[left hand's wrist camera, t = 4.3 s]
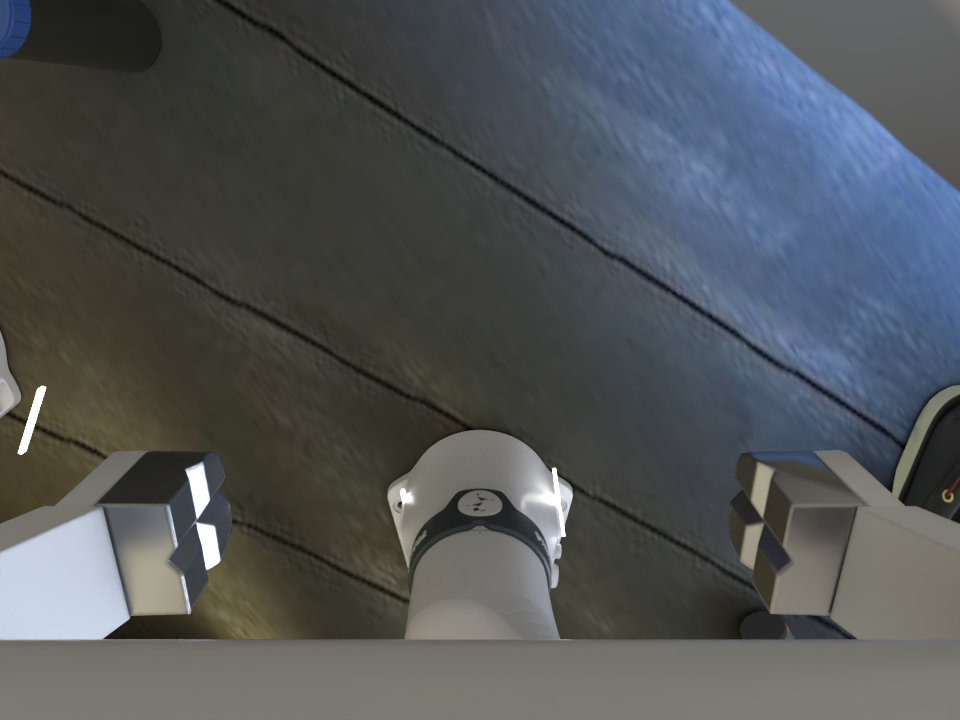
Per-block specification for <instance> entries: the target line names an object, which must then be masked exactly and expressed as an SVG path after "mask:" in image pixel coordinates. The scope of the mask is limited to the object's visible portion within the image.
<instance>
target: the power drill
mask: <svg viewBox="0 0 960 720" xmlns="http://www.w3.org/2000/svg"><path fill="white" fill-rule="evenodd" d="M740 634H741V637H742V640H796V639H795V638H794V636H793V634H792V633H791V631H790V629H789V628H788V626H787V624H786V623H785V621H784V620H783V619H782V618H781V617H780V616H779V615H777V614H770V613H769V611H760V612H755V613H753V614H750V615H749V616H748V617H746V618H745V619H744V620H743V622H742V623H741V626H740Z"/></svg>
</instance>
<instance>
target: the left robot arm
mask: <svg viewBox="0 0 960 720" xmlns="http://www.w3.org/2000/svg"><path fill="white" fill-rule="evenodd" d="M225 478H226V477H225V472H224V467H223V462H222V458H221V457H220V456H219V455H218V454H217V453H216V452H193V451H150V450H134V451H116V452H113V453H112V454H111V455H110V456H109V457H108V458H107V459H106V460H105V461H103V462H102V463H101V464H100V465H99V466H98V467H97V468H96V469H95V470H94V471H92V472H91V473H90V474H89V475H88V476H87V477H86V478H85V479H84V480H83V481H82V482H80V483H79V484H78V485H77V486H76V487H75V488H74V489H73V490H72V491H71V492H69V493H68V494H67V495H66V496H65V497H64V498H63V499H62V500H61V501H60V502H59V503H57V504H56V505H55V506H43V507H41V508H38V509H36V510H33V511H31V512H28V513H26V514H23V515H21V516H18V517H16V518H13V519H11V520H8V521H6V522H3V523H1V524H0V720H960V524H959V523H956V522H954V521H952V520H949V519H947V518H944V517H942V516H939V515H937V514H934V513H932V512H929V511H927V510H924V509H922V508H919V507H917V506H905V505H904V504H903V503H902V502H900V501H899V500H898V499H897V498H896V497H895V496H894V495H893V494H892V493H891V492H890V491H888V490H887V489H886V488H885V487H884V486H883V485H882V484H881V483H880V482H879V481H878V480H876V479H875V478H874V477H873V476H872V475H871V474H870V473H869V472H868V471H867V470H866V469H864V468H863V467H862V466H861V465H860V464H859V463H858V462H857V461H856V460H855V459H853V458H852V457H851V456H850V455H849V454H848V453H847V452H844V451H840V450H825V451H776V452H747V453H741V455H740V457H739V460H738V462H737V465H736V471H735V476H734V478H735V479H736V481H737V482H738V484H739V485H740V487H741V488H742V490H741V491H740V492H739V493H738V494H737V496H736V497H735V498H734V499H733V500H732V501H731V502H730V508H729V516H728V526H729V537H730V541H731V544H732V547H733V550H734V552H735V554H736V556H737V558H738V560H739V561H740V562H741V563H742V564H744V565H746V566H747V567H749V568H751V569H752V570H753V575H752V581H751V582H752V584H753V586H754V587H755V589H756V591H757V592H758V594H759V596H760V597H761V599H762V601H763V603H764V604H765V606H766V608H767V609H768V611H769V613H770V614H791V615H828V616H830V619H832V620H833V621H834V622H836V623H837V624H838V625H840V626H841V627H842V628H844V629H845V630H847V631H848V632H849V633H851V634H852V635H853V636H855V637H856V638H857V639H859V640H560V637H559V634H558V631H557V627H556V623H555V620H554V616H553V612H552V607H551V602H550V597H549V595H550V591H551V588H554V587H556V586H557V583H558V576H559V569H558V565H556V564H553V563H554V560H555V559H560V556H561V544H559V543H560V539H561V536H562V537H564V536H565V531H564V525H565V522H566V519H567V515H568V512H569V508H570V505H571V501H572V497H573V494H572V487H571V486H570V484H569V483H568V482H566V481H565V480H563V479H562V478H560V477H559V476H557V473H556V468H553V473H551V472H550V471H549V470H548V469H547V467H546V466H545V465H544V463H543V462H542V460H541V459H540V458H539V456H538V455H537V454H536V453H535V452H534V451H533V450H532V449H531V448H530V447H529V446H527V445H526V444H525V443H523V442H522V441H520V440H518V439H516V438H514V437H512V436H510V435H507V434H504V433H500V432H496V431H490V430H470V431H464V432H460V433H456V434H453V435H450V436H448V437H446V438H444V439H442V440H440V441H438V442H437V443H435V444H434V445H433V446H431V447H430V448H429V449H428V450H427V451H426V452H425V453H424V454H423V455H422V456H421V458H420V459H419V461H418V462H417V463H416V465H415V466H414V467H413V469H412V470H411V471H410V472H409V473H407V474H405V475H403V476H402V477H400V478H398V479H397V480H395V481H394V482H392V483H391V484H390V486H389V487H388V494H387V497H388V501H389V505H390V508H391V512H392V515H393V518H394V522H395V525H396V529H397V532H398V536H399V539H400V543H401V546H402V549H403V553H404V556H405V560H406V563H407V567H408V572H409V576H408V585H409V591H410V595H411V598H410V605H409V612H408V619H407V626H406V633H405V639H103V638H104V637H106V636H107V635H108V634H110V633H111V632H112V631H114V630H115V629H116V628H118V627H119V626H120V625H122V624H123V623H124V622H126V621H127V620H128V619H130V616H131V615H167V614H190V613H191V611H192V609H193V608H194V606H195V604H196V603H197V601H198V599H199V597H200V596H201V594H202V592H203V591H204V589H205V587H206V586H207V584H208V582H209V581H208V575H207V570H208V569H209V568H211V567H213V566H214V565H216V564H218V563H219V562H220V561H221V559H222V558H223V556H224V554H225V552H226V550H227V548H228V544H229V540H230V535H231V531H232V514H231V507H230V502H229V501H228V500H227V499H226V498H225V497H224V496H223V495H222V493H221V492H220V491H219V490H218V488H219V487H220V485H221V484H222V482H223V481H224V479H225ZM398 502H402V505H401V504H399V503H398ZM561 502H562V503H561Z"/></svg>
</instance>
